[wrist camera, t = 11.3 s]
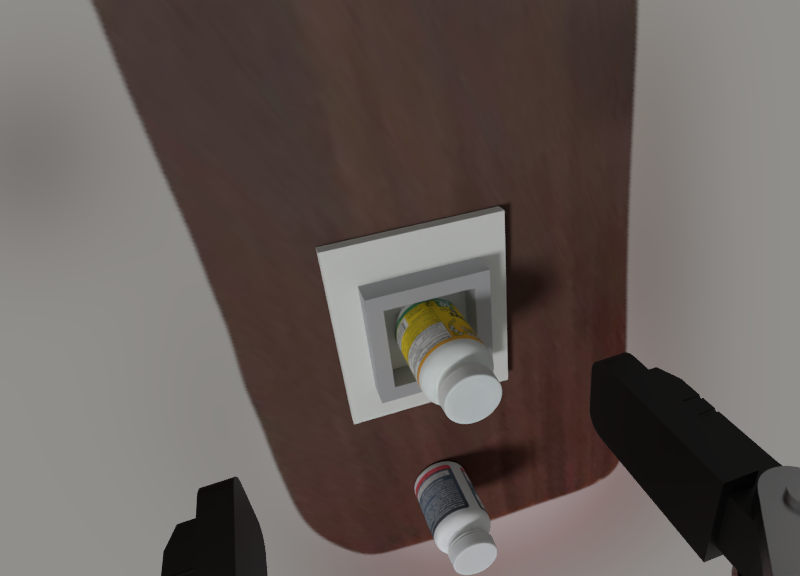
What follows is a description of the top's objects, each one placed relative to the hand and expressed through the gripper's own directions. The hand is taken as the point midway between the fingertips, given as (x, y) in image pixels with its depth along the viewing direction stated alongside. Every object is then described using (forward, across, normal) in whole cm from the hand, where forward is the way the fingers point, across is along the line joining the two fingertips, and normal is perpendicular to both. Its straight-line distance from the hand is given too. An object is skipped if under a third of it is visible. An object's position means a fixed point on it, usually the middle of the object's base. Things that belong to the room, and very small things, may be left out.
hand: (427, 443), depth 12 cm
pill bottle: (+27, -6, +35) cm, 44 cm away
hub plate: (+27, -6, +16) cm, 32 cm away
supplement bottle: (+26, -6, +16) cm, 31 cm away
